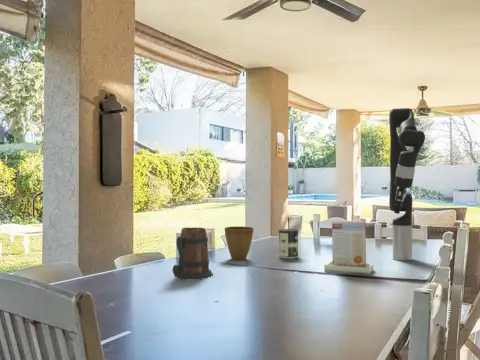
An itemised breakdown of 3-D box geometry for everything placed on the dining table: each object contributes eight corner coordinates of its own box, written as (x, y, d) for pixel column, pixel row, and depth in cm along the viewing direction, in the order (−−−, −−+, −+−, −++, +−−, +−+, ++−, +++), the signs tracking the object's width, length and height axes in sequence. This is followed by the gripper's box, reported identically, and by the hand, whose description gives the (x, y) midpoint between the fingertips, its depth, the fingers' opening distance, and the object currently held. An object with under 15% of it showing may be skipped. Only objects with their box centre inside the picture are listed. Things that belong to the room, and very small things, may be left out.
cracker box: (366, 268, 203) (366, 220, 203) (365, 271, 197) (364, 222, 197) (334, 266, 208) (333, 220, 208) (332, 269, 202) (331, 221, 202)
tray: (330, 267, 211) (330, 260, 211) (373, 270, 203) (373, 263, 203) (324, 271, 202) (324, 264, 202) (369, 275, 193) (369, 268, 193)
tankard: (186, 270, 207) (186, 225, 207) (220, 273, 200) (220, 227, 200) (156, 280, 186) (156, 231, 186) (193, 284, 179) (193, 232, 179)
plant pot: (219, 260, 232) (219, 228, 232) (231, 256, 246) (231, 226, 246) (247, 262, 227) (247, 229, 227) (257, 257, 240) (257, 226, 240)
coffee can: (299, 255, 246) (299, 229, 246) (297, 258, 236) (297, 231, 236) (279, 255, 248) (279, 228, 248) (277, 258, 238) (277, 230, 238)
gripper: (397, 171, 209) (391, 205, 213) (393, 177, 196) (386, 213, 200) (415, 174, 206) (408, 208, 210) (411, 180, 193) (404, 216, 197)
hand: (397, 210), depth 205 cm, fingers open, 8 cm apart
